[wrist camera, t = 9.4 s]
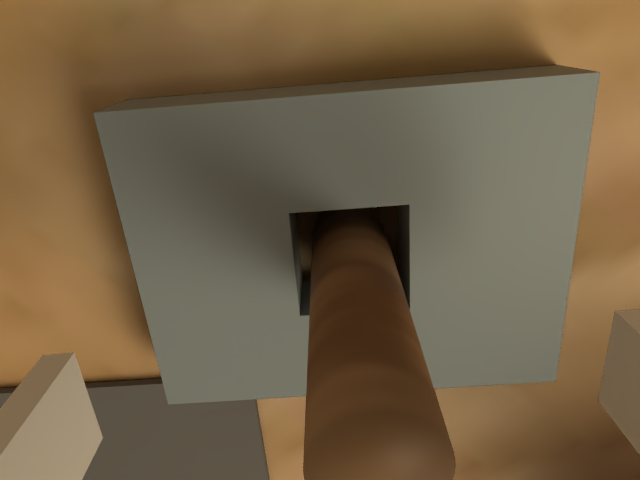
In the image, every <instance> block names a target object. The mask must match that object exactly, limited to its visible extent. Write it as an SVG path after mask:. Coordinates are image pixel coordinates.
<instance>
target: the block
mask: <svg viewBox="0 0 640 480" xmlns="http://www.w3.org/2000/svg"><path fill="white" fill-rule="evenodd" d="M599 76H600V72H596V71H590V70H584V69H578V68H573V67H567V66H561V65H550V66H538V67H525V68H513V69H501V70H488V71H476V72H464V73H451V74H439V75H426V76H414V77H402V78H389V79H377V80H365V81H352V82H340V83H327V84H315V85H303V86H290V87H278V88H266V89H253V90H241V91H228V92H216V93H204V94H191V95H179V96H167V97H154V98H142V99H129V100H125V101H122V102H120V103H117V104H115V105H112V106H109V107H107V108H104V109H102V110H99V111H97V112H94V113H93V115H94V118H95V122H96V126H97V130H98V134H99V138H100V142H101V146H102V149H103V153H104V157H105V161H106V165H107V169H108V173H109V177H110V180H111V184H112V188H113V192H114V196H115V200H116V204H117V208H118V211H119V215H120V219H121V223H122V227H123V231H124V235H125V239H126V243H127V246H128V250H129V254H130V258H131V262H132V266H133V270H134V274H135V277H136V281H137V285H138V289H139V293H140V297H141V301H142V305H143V308H144V312H145V316H146V320H147V324H148V328H149V332H150V336H151V339H152V343H153V347H154V351H155V355H156V359H157V363H158V367H159V370H160V374H161V378H162V382H163V386H164V390H165V394H166V398H167V402H168V404H184V403H201V402H218V401H235V400H252V399H269V398H286V397H302V396H306V388H307V364H308V339H309V314H310V289H311V278H307V279H303V277H302V267H301V258H300V248H299V239H298V229H297V219H296V213H300V212H314V211H328V210H342V209H356V208H369V207H383V206H397V205H398V258H399V272H398V274H399V277H400V281H401V284H402V287H403V290H404V293H405V297H406V300H407V303H408V306H409V310H410V313H411V316H412V319H413V322H414V326H415V329H416V332H417V335H418V339H419V342H420V345H421V348H422V351H423V355H424V358H425V361H426V364H427V368H428V371H429V374H430V377H431V381H432V384H433V387H434V389H437V388H454V387H471V386H488V385H504V384H521V383H538V382H555V381H556V376H557V369H558V363H559V356H560V349H561V342H562V335H563V328H564V321H565V314H566V307H567V300H568V293H569V286H570V279H571V272H572V265H573V258H574V251H575V244H576V237H577V230H578V223H579V216H580V209H581V202H582V195H583V188H584V181H585V174H586V167H587V160H588V153H589V146H590V139H591V132H592V125H593V118H594V111H595V104H596V97H597V90H598V83H599Z"/></svg>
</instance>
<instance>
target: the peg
mask: <svg viewBox="0 0 640 480" xmlns="http://www.w3.org/2000/svg"><path fill="white" fill-rule="evenodd" d="M455 466H456V465H455V456H454V451H453V448H452V445H451V442H450V439H449V435H448V432H447V429H446V426H445V422H444V419H443V416H442V413H441V410H440V406H439V403H438V400H437V397H436V393H435V390H434V387H433V384H432V381H431V377H430V374H429V371H428V368H427V364H426V361H425V358H424V355H423V351H422V348H421V345H420V342H419V339H418V335H417V332H416V329H415V326H414V322H413V319H412V316H411V313H410V310H409V306H408V303H407V300H406V297H405V293H404V290H403V287H402V284H401V281H400V277H399V274H398V271H397V268H396V264H395V261H394V258H393V255H392V252H391V248H390V245H389V242H388V239H387V235H386V232H385V229H384V226H383V223H382V220H381V218H380V216H379V215H378V213H377V212H376V211H375V210H374V209H373V208H372V207H369V208H356V209H342V210H328V211H322V212H321V213H320V214H319V216H318V217H317V219H316V221H315V224H314V227H313V240H312V265H311V289H310V314H309V339H308V364H307V388H306V413H305V438H304V463H303V472H304V479H305V480H453V477H454V473H455Z"/></svg>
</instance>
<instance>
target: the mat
mask: <svg viewBox="0 0 640 480" xmlns="http://www.w3.org/2000/svg"><path fill="white" fill-rule="evenodd" d="M85 386H86V389H87V392H88V395H89V398H90V401H91V404H92V407H93V410H94V413H95V416H96V419H97V422H98V424H99V427H100V430H101V433H102V436H103V439H102V441H101V443H100V445H99V447H98V449H97V451H96V453H95V455H94V457H93V459H92V461H91V463H90V465H89V467H88V469H87V471H86V473H85V475H84V477H83V479H82V480H270V479H269V473H268V467H267V461H266V455H265V449H264V443H263V437H262V431H261V425H260V419H259V413H258V407H257V401H256V399H252V400H235V401H218V402H201V403H184V404H168V402H167V398H166V394H165V390H164V386H163V382H162V378H159V379H143V380H126V381H110V382H94V383H85ZM16 388H17V387H12V388H0V408H1V407H2V405H3V404H4V403H5V402H6V400H7V399H8V398H9V397H10V395H11V394H12V393H13V392H14V391H15V389H16Z"/></svg>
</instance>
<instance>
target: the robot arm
mask: <svg viewBox="0 0 640 480" xmlns="http://www.w3.org/2000/svg"><path fill="white" fill-rule="evenodd" d="M598 402H599V403H600V404H601V405H602V407H603V408H604V409H605V411H606V412H607V413H608V415H609V416H610V417H611V418H612V420H613V421H614V422H615V424H616V425H617V426H618V427H619V429H620V430H621V431H622V433H623V434H624V435H625V437H626V438H627V439H628V440H629V442H630V443H631V444H632V446H633V447H634V448H635V450H636V451H637V452H638V453H639V455H640V309H634V310H621V311H615V313H614V318H613V323H612V329H611V334H610V339H609V345H608V350H607V355H606V360H605V366H604V371H603V376H602V382H601V387H600V392H599V398H598ZM102 439H103V436H102V433H101V430H100V427H99V424H98V422H97V419H96V416H95V413H94V410H93V407H92V404H91V401H90V398H89V395H88V392H87V389H86V386H85V383H84V380H83V377H82V374H81V371H80V368H79V365H78V362H77V359H76V356H75V353H63V354H50V355H43V356H42V357H41V358H40V360H39V361H38V362H37V363H36V365H35V366H34V367H33V368H32V369H31V371H30V372H29V373H28V374H27V376H26V377H25V378H24V379H23V381H22V382H21V383H20V384H19V386H18V387H17V388H16V389H15V391H14V392H13V393H12V394H11V395H10V397H9V398H8V399H7V400H6V402H5V403H4V404H3V405H2V407H1V408H0V480H82V479H83V477H84V475H85V473H86V471H87V469H88V467H89V465H90V463H91V461H92V459H93V457H94V455H95V453H96V451H97V449H98V447H99V445H100V443H101V441H102Z"/></svg>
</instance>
